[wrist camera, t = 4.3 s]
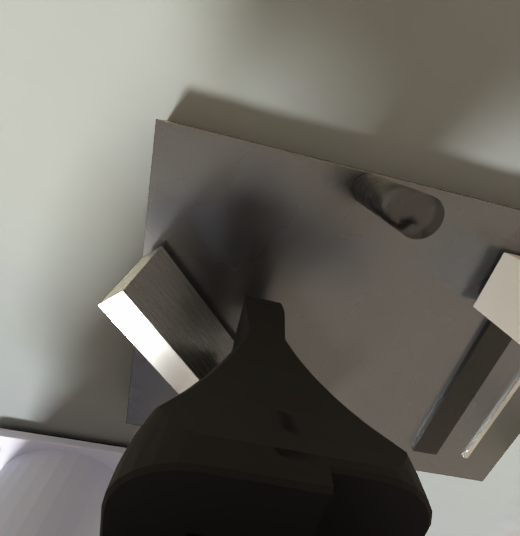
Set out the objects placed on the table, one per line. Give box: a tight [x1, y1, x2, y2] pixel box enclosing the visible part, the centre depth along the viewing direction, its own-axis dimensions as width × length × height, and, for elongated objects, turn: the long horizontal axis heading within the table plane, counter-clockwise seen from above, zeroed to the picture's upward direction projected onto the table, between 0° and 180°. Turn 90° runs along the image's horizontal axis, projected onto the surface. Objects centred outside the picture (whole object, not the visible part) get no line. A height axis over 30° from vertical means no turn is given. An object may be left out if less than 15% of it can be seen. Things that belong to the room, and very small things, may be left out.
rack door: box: [98, 246, 234, 394], centre depth 11 cm, size 10×1×3 cm, turn 31°
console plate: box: [126, 119, 520, 481], centre depth 11 cm, size 13×18×6 cm
